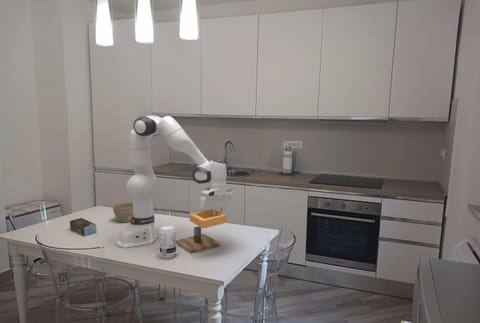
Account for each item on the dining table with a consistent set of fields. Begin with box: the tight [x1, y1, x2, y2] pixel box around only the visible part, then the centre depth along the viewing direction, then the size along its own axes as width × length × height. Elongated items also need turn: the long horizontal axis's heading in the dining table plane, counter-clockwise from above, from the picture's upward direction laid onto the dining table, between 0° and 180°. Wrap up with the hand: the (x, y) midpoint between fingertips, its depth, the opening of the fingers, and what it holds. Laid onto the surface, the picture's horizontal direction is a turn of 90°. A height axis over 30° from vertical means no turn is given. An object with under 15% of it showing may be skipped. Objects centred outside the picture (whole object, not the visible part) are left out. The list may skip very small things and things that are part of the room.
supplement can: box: [158, 224, 177, 260], centre depth 174 cm, size 8×8×15 cm
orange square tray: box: [189, 209, 228, 229], centre depth 178 cm, size 14×14×4 cm
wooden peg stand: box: [176, 226, 221, 254], centre depth 190 cm, size 18×18×10 cm
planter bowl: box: [112, 201, 133, 223], centre depth 233 cm, size 16×16×11 cm
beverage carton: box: [69, 217, 97, 237], centre depth 211 cm, size 8×19×7 cm, turn 50°
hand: (217, 216), depth 181 cm, fingers closed on orange square tray, 2 cm apart
